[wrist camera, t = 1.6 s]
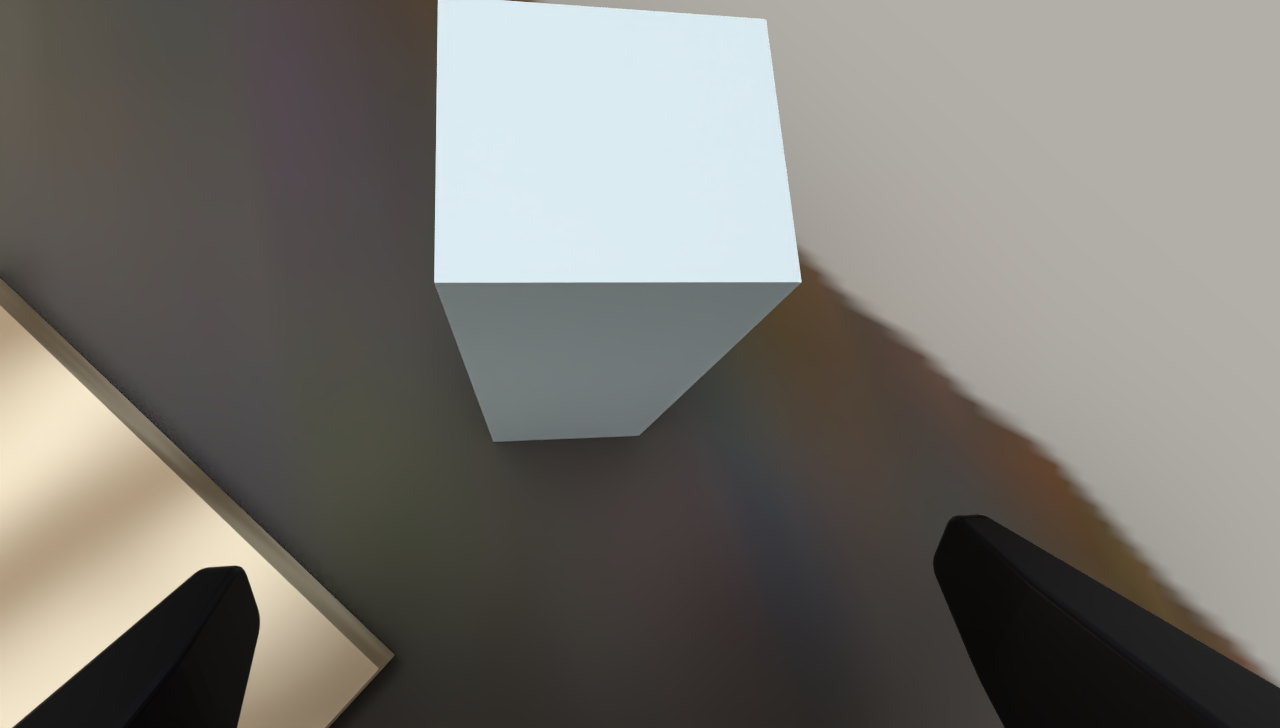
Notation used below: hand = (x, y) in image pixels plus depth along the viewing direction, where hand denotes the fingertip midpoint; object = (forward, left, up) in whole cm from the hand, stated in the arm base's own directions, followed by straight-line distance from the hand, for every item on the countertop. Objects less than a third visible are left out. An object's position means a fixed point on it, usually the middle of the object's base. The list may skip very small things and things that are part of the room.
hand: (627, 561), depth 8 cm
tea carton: (+4, -4, -12) cm, 13 cm away
